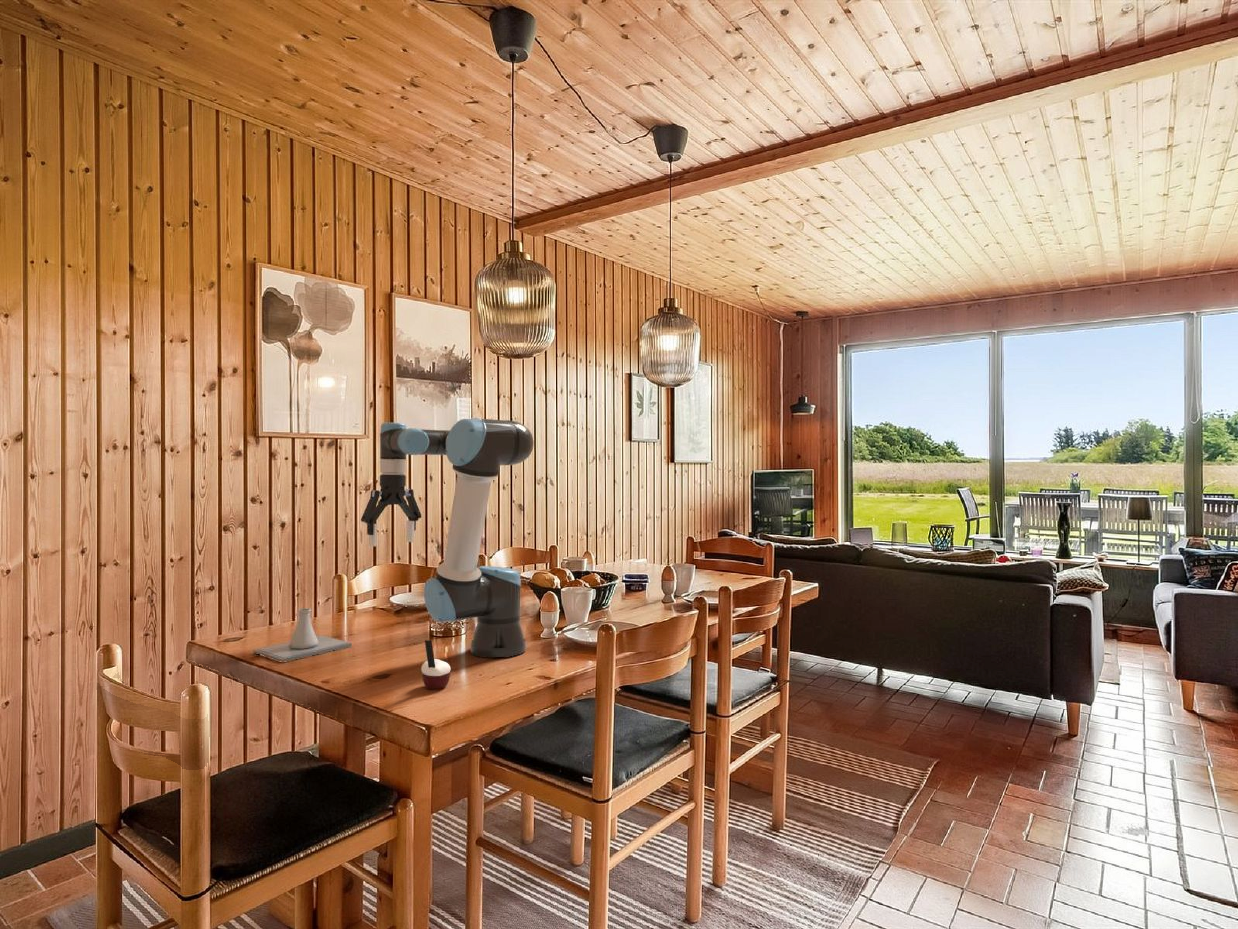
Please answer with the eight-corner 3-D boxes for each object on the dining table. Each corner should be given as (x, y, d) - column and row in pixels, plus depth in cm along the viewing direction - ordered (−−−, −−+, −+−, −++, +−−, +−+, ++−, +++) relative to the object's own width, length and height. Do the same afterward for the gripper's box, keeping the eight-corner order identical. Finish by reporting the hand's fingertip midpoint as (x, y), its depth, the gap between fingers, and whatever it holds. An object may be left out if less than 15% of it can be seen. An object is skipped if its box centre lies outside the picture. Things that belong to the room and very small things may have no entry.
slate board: (351, 646, 196) (351, 642, 196) (282, 663, 180) (282, 659, 180) (322, 638, 204) (322, 634, 204) (253, 653, 188) (253, 649, 188)
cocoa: (439, 682, 169) (440, 631, 169) (459, 685, 165) (460, 634, 166) (409, 691, 160) (410, 638, 161) (429, 695, 157) (430, 641, 158)
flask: (324, 644, 194) (324, 608, 193) (302, 651, 187) (302, 613, 187) (305, 641, 197) (305, 605, 197) (283, 647, 190) (283, 610, 190)
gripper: (417, 473, 225) (416, 539, 225) (349, 473, 204) (348, 546, 205) (433, 473, 221) (432, 541, 221) (364, 474, 200) (363, 549, 200)
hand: (391, 544), depth 213 cm, fingers open, 13 cm apart
